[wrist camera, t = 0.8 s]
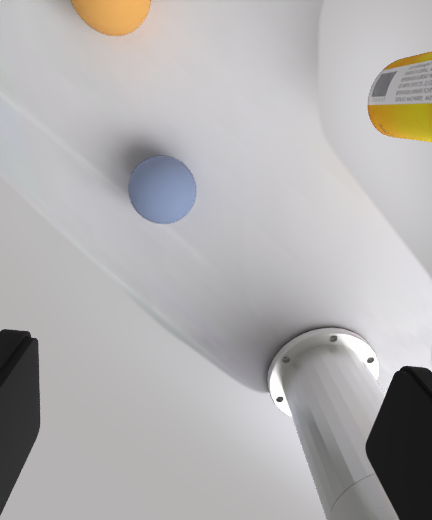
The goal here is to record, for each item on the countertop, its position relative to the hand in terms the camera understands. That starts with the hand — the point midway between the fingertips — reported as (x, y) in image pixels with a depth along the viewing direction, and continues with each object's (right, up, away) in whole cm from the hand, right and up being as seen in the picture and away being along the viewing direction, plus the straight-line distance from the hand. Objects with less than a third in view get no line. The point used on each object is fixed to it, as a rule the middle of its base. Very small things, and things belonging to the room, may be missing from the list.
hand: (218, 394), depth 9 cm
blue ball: (-4, +9, +20) cm, 23 cm away
